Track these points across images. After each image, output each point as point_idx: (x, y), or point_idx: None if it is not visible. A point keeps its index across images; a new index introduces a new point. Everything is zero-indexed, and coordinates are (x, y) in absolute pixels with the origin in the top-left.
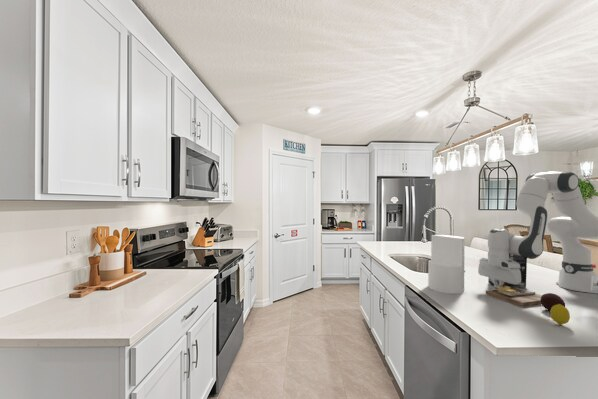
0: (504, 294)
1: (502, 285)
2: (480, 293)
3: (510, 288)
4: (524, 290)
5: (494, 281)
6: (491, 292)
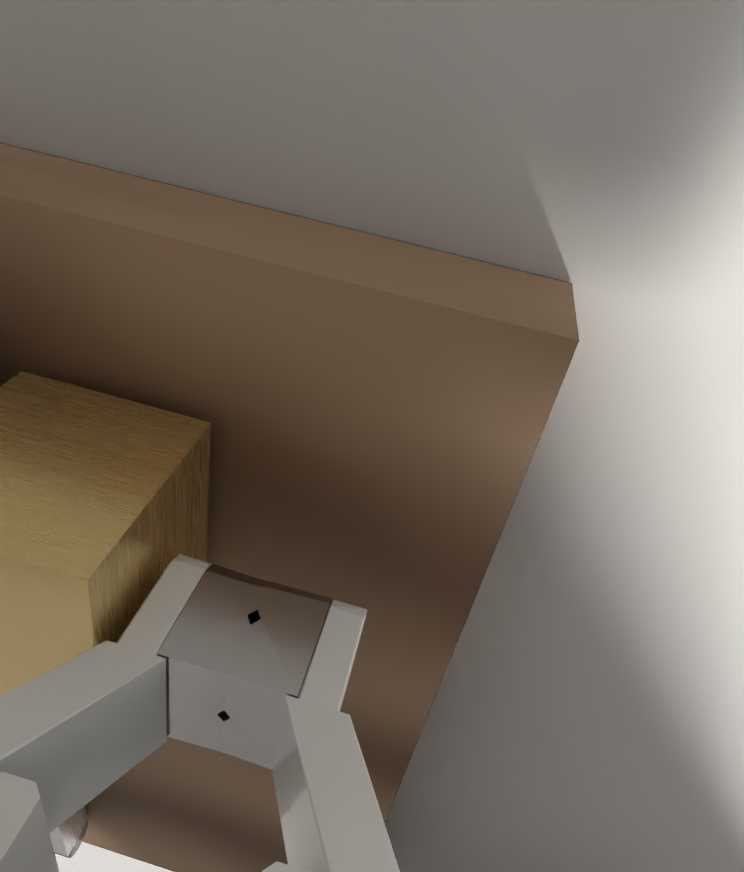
0: None
1: None
2: (740, 243)
3: None
4: None
5: (310, 849)
6: (330, 279)
